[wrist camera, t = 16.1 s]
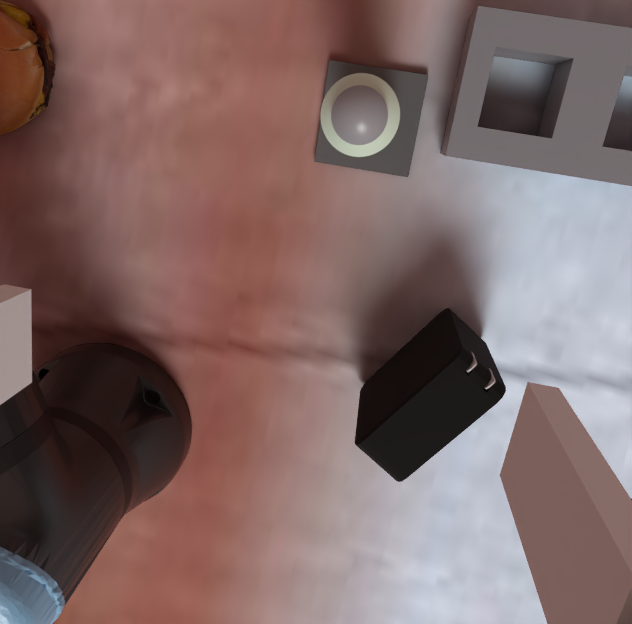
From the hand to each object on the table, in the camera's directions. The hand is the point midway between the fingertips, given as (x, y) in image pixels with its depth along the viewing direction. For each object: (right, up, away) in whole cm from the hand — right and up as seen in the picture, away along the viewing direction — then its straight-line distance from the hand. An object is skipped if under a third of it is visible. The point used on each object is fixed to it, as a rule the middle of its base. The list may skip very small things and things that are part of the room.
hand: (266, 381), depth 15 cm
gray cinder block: (+19, +16, +25) cm, 35 cm away
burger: (-23, +21, +29) cm, 42 cm away
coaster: (+5, +16, +27) cm, 31 cm away
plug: (+5, +16, +26) cm, 31 cm away
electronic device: (+10, -2, +32) cm, 34 cm away
